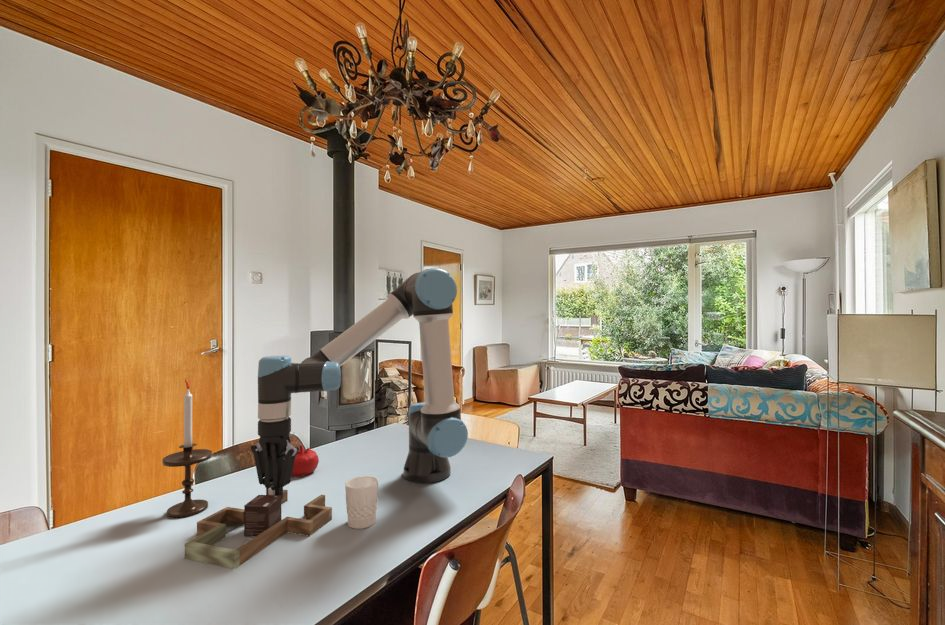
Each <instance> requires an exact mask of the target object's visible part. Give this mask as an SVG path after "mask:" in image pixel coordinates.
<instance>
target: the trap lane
mask: <svg viewBox="0 0 945 625" xmlns="http://www.w3.org/2000/svg"><path fill="white" fill-rule="evenodd" d="M288 492H289V491H288V489H283V499H282V500H281V505H283V504H285V503H286V502H288ZM303 518H304V519H303ZM303 518H298V517H294V516H293V517H292V516H286V517H284V518H283V519H282V518H281V521H279V522H278V523H276V524H275V525H273V526H272V527H270V528H268V529H267V530H265V531H264V532H262V533H261V534H259V535H257V536H256V537H252V538H251V539H250V540H248V541H245V542H244V544H242V545H240V546H239V547H237V548H236V549H233V548H227V547H223V546H222V547H221V546H217V545H216V544H217V543H218V542H220V541H222V540H224V539H226V537H227V535H228V534H229V533H231V532H232V531H235V530H236V529H237V528H239V527H241V526H242V525H244V508H238V507H237V508H236V507H231V506H226V507H224V508H222V509H220V510H218V511H216V512H214V513H212V514H210V515H208V516H206V517H203V518H202V519H200V520H199V521H196V537H194V538H193V539H191V540H189V541H187V542H186V543H184V547H183V548H184V552H183V553H184V560H185V559H186V560H191V561H195V562H200V563H205V564H210V565H215V566H220V567H223V568H227V569H228V568H229V569H234V570H235V569H237V568H238V567H240V566H241V565H243V564H244V563H246V562H247V561H248V560H250V559H251V558H253V557H254V556H256V555H257V554H259V553H260V552H262V551H263V550H265V549H266V548H267V547H269V546H270V545H272V544H273V543H275V542H276V541H277V540H279V539H280V538H282V537H283V536H284V535H286V534H294V533H296V534H295V535H300V534H301V536H306V535H308V536H307V537H311V536H312V535H313V534H314V533H316V532H318V531H319V530H320V529H321V528H323V527H324V526H326V524H328V523H330V522H331V521H332V520H333V507H332V506H326V495H325V494H320V495H318V496H317V497H315V498H314V499H312V500H311V501H309V502H308V503H306V504H304V505H303ZM323 525H324V526H323ZM319 528H320V529H319ZM318 529H319V530H318ZM288 532H289V533H288ZM310 535H311V536H310Z"/></svg>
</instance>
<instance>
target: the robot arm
mask: <svg viewBox="0 0 945 625" xmlns="http://www.w3.org/2000/svg"><path fill="white" fill-rule="evenodd" d="M457 295H458V286H457V283H456V280H455V279H454V277H453V276H452V275H451V274H450V273H449V272H448V271H446V270H444V269H441V268H434V267H433V268H431V267H430V268H425V269H423V270H422V271H419V272H415V273H413V274H411V275H410V276H409V277H407V278H406V279H405V280H404V281H403V282H402V283H401V284H399V285H398V286H397V287H396V288H395V289H393V291H391V292H390V293H388V296H387V299H386V300H385V301H383V302H382V303H381V304H379V305H378V306H377V307H375V308H374V309H373V310H371V311H370V312H369V313H368V314H366V315H365V316H364V317H362V318H361V319H359V320H358V321H357V322H355V323H354V324H353V325H351V326H350V327H348V328H347V329H346V330H345V331H343V332H342V333H341V334H339V335H338V336H336V337H335V338H334V339H332V340H331V341H330V342H328V343H327V344H326V345H325V346H323V347H322V348H321V349H319V350H318V351H316V352H315V353H314V354H312V355H311V356H309V357H307V358H305V359H304V360H302V361H300V363H297V362H293V361H292V358H291V356H289V355H269V356H268V355H267V356H262V357H261V358H260V359H259V360H258V366H257V419H259V420H258V421H257V435H258V436H259V438H258V442H257V443H255V444H253V445H251V446H250V450H251V452H252V454H253V460H254V464H255V469H256V474H257V480H258V483H259V485H263V486H264V487H265V488H266V489H265V495H281V500H282V499H283V490H284V487H285V486H287V485H289V484H290V483H291V480H292V477H293V476H292V471H293V466H294V462H295V457H296V454H297V453H298V451H299V450H300V447H299V446H294V445H293V444H292V443H291V438H290V434H291V432H292V418H291V417H290V416H291V414H292V394H299V393H311V392H313V393H315V392H328V391H336V390H338V389H339V388H340V387H341V381H342V378H341V377H342V375H341V374H342V372H341V371H342V370H341V366H343V365H345V363H347V362H348V361H349V360H351V359H352V358H354V356H356V355H357V354H359V353H360V352H361V351H362V350H364V349H365V348H366V347H368V346H369V345H370V344H371V343H373V342H374V341H375V340H377V339H379V337H381V336H382V335H383V334H384V333H386V332H387V331H388V330H389V329H391V328H392V327H394V326H395V325H396V324H398V322H400V321H401V320H402V319H406V320H407V319H409V318H410V317H412V316H413V319H415V320H416V321H418V326H419V327H418V328H419V340H420V352H421V362H422V363H421V364H422V376H423V378H422V379H423V392H424V401H423V402H416V403H411V404H410V405H409V407H408V413H407V416H408V454H407V456H406V460H405V463H404V465H403V477H404V479H406V480H407V481H411V482H413V483H423V484H425V483H437V482H440V481H443V480H446V479H447V478H449V477H450V476H451V472H452V471H451V463H450V461H449V458H452V457H455V456H456V455H458V454H459V453H460V452H461V451H462V450H463V449H464V448H465V446H466V443H467V441H468V438H469V432H468V428H467V426H466V424H465V423H464V421H463V420H462V414H461V405H460V404H459V403H457V402H456V401H455V391H454V390H455V389H454V380H453V379H454V377H453V363H452V353H451V351H452V350H451V340H450V337H451V336H450V326H449V325H450V324H449V323H450V322H449V320H450V318H451V317H452V316H453V315H454V309H453V307H454V306H453V303H454V301H456V299H457V298H456V297H457Z"/></svg>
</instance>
